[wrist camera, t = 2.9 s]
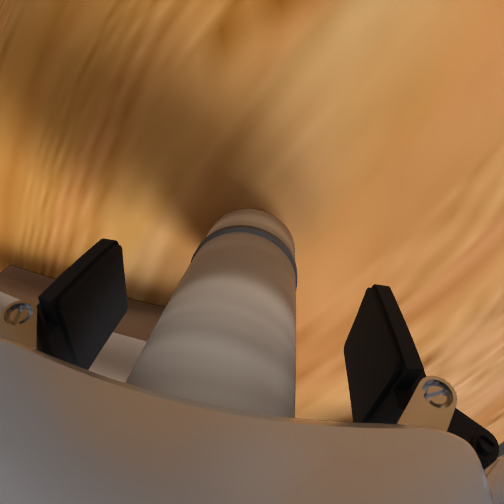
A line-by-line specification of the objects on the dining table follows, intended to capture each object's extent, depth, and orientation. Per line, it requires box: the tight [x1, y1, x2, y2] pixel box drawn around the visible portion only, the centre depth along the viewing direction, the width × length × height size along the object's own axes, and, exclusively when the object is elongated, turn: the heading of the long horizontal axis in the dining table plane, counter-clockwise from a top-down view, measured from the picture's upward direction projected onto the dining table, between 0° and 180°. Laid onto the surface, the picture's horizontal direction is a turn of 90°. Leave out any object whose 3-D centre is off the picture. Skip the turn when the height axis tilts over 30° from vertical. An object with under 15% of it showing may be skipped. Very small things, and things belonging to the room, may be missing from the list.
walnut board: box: [0, 265, 165, 383], centre depth 19 cm, size 14×20×3 cm
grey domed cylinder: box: [125, 209, 297, 418], centre depth 9 cm, size 4×4×12 cm
